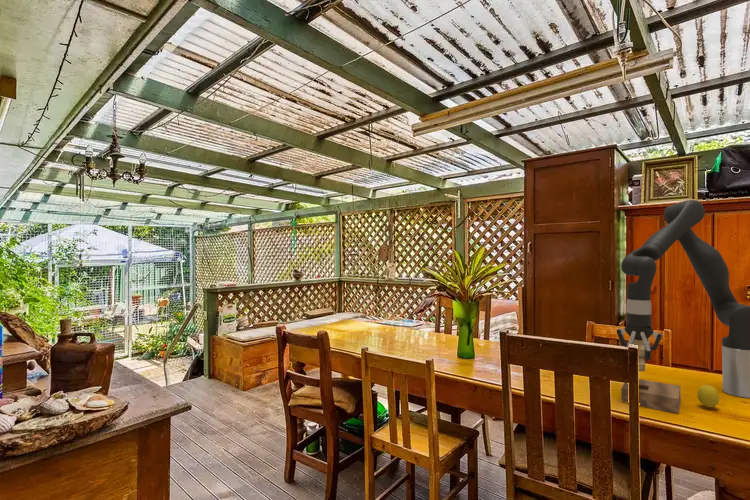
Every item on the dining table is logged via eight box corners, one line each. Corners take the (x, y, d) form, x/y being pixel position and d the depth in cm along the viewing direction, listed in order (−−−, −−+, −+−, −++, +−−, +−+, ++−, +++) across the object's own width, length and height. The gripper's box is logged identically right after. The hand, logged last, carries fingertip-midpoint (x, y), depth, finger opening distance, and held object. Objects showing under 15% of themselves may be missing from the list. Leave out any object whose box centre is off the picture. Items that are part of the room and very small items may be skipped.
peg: (647, 369, 139) (647, 338, 139) (645, 372, 135) (645, 341, 135) (632, 367, 141) (632, 337, 141) (631, 370, 138) (631, 339, 138)
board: (680, 399, 138) (680, 385, 138) (678, 414, 127) (678, 398, 127) (627, 389, 149) (627, 376, 149) (621, 402, 137) (621, 388, 137)
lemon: (697, 403, 135) (697, 380, 135) (718, 407, 132) (718, 383, 132) (697, 408, 131) (697, 385, 131) (719, 412, 127) (719, 388, 127)
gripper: (664, 312, 136) (664, 360, 137) (617, 308, 146) (617, 353, 146) (662, 315, 131) (662, 365, 131) (613, 311, 140) (614, 358, 140)
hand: (639, 359), depth 138 cm, fingers closed on peg, 4 cm apart
